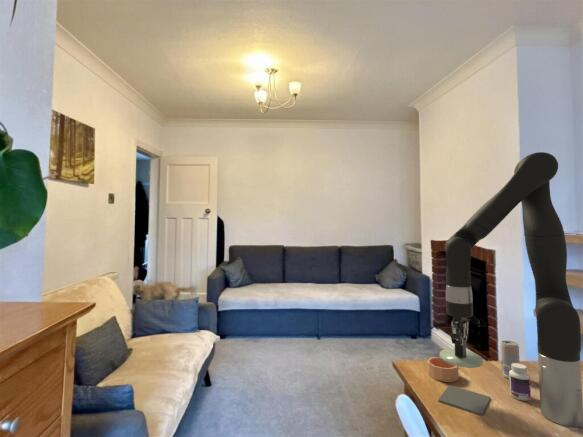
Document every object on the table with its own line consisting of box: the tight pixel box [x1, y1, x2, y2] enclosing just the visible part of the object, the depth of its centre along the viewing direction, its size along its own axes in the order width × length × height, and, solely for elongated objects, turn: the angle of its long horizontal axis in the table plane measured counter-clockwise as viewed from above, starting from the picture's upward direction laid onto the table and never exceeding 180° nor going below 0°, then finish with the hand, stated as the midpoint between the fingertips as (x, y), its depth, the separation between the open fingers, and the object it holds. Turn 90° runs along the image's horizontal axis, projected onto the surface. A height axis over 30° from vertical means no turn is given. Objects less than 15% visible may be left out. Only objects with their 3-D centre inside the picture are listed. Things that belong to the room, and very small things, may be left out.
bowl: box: [426, 356, 460, 383], centre depth 115 cm, size 10×10×5 cm
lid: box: [439, 339, 484, 369], centre depth 99 cm, size 12×12×6 cm
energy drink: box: [500, 340, 521, 379], centre depth 113 cm, size 5×5×12 cm
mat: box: [437, 384, 491, 417], centre depth 99 cm, size 12×12×1 cm
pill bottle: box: [508, 363, 532, 402], centre depth 100 cm, size 5×5×10 cm
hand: (460, 354), depth 99 cm, fingers closed on lid, 3 cm apart
